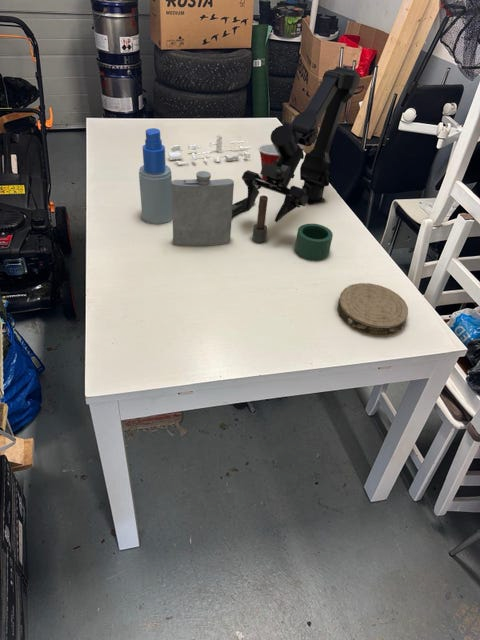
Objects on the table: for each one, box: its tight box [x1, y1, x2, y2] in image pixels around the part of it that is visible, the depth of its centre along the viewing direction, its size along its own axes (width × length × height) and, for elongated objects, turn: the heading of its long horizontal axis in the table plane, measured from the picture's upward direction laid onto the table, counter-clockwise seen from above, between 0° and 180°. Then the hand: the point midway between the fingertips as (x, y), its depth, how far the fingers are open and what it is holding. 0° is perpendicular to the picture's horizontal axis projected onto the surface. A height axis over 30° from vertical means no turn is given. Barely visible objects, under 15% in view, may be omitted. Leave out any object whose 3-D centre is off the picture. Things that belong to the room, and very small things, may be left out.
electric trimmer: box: [232, 197, 256, 217], centre depth 142 cm, size 4×16×3 cm, turn 142°
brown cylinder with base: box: [251, 195, 269, 244], centre depth 127 cm, size 4×4×13 cm
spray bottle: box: [138, 127, 173, 225], centre depth 128 cm, size 9×9×25 cm
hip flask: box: [171, 170, 235, 247], centre depth 121 cm, size 16×4×20 cm, turn 101°
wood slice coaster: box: [336, 282, 409, 337], centre depth 108 cm, size 16×16×3 cm
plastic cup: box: [258, 143, 279, 186], centre depth 156 cm, size 11×11×12 cm
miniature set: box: [165, 134, 252, 166], centre depth 171 cm, size 6×35×12 cm
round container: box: [294, 223, 334, 262], centre depth 126 cm, size 9×9×6 cm
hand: (261, 216), depth 126 cm, fingers open, 9 cm apart
